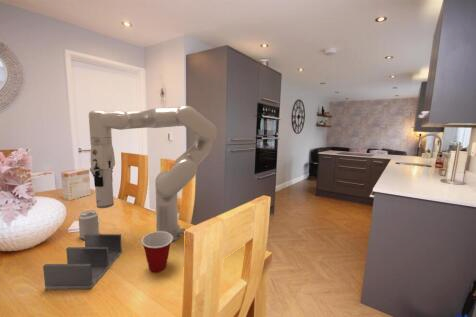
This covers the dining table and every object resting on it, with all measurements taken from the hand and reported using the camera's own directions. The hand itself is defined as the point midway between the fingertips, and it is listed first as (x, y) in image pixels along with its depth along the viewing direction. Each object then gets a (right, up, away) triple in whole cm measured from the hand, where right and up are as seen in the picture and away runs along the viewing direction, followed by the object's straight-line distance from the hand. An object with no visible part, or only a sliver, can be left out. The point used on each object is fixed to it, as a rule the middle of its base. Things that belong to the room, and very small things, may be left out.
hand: (104, 183), depth 93 cm
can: (-13, -26, +11) cm, 31 cm away
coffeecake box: (-59, -17, +66) cm, 90 cm away
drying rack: (+2, -29, -12) cm, 32 cm away
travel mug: (0, -10, +1) cm, 10 cm away
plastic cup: (+27, -30, -11) cm, 42 cm away
